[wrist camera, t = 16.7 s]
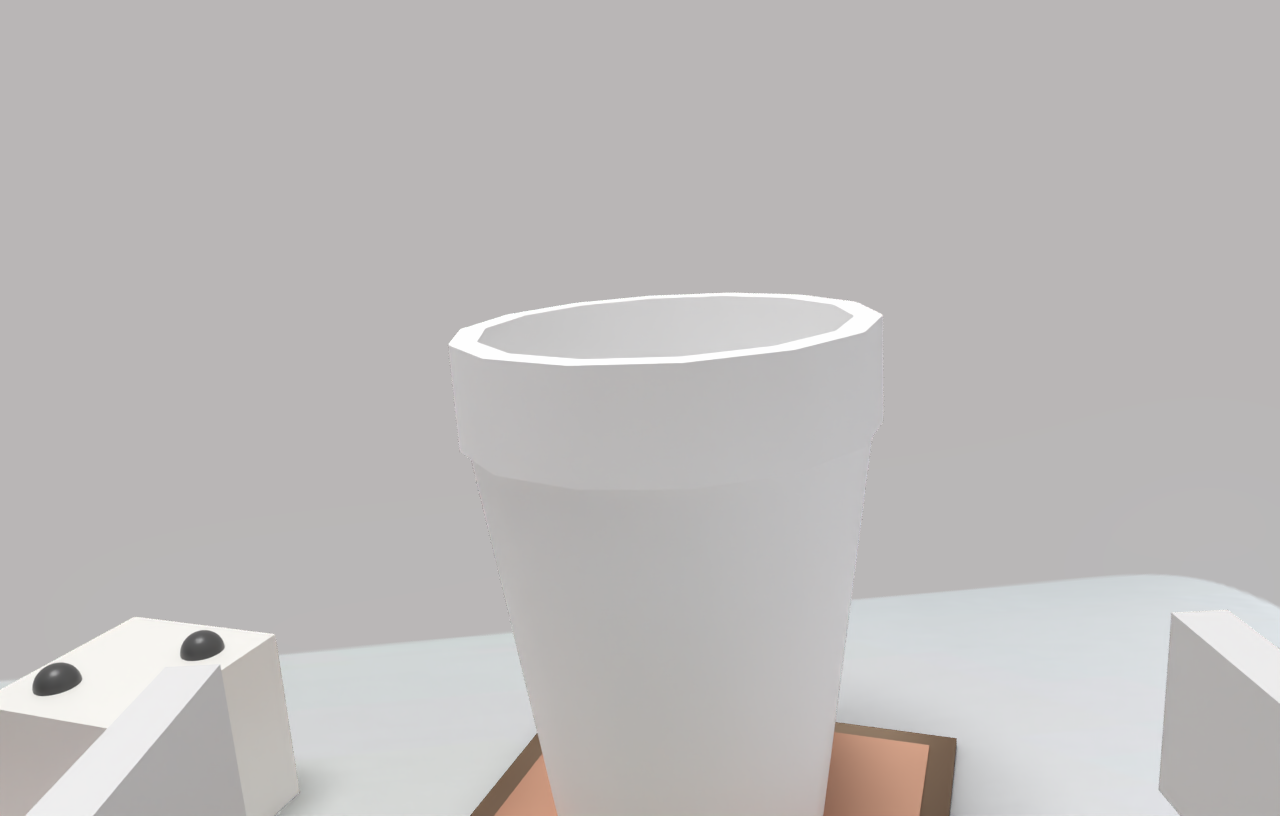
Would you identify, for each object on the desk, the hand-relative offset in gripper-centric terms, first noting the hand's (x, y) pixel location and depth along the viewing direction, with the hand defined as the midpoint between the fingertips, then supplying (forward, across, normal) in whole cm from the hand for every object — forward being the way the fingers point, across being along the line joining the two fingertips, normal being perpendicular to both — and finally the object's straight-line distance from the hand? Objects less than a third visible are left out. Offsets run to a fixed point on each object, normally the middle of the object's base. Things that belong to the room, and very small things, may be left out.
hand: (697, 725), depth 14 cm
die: (+11, -14, -9) cm, 20 cm away
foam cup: (+10, 0, -9) cm, 13 cm away
